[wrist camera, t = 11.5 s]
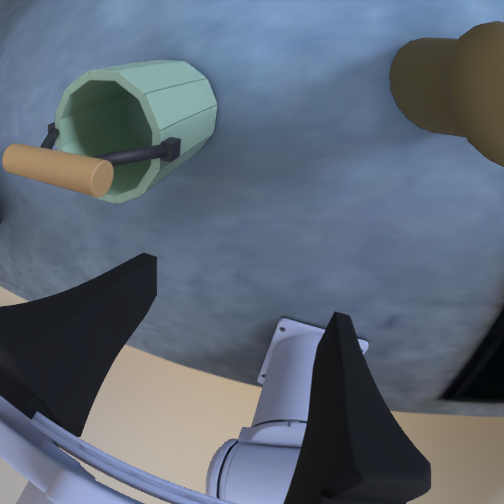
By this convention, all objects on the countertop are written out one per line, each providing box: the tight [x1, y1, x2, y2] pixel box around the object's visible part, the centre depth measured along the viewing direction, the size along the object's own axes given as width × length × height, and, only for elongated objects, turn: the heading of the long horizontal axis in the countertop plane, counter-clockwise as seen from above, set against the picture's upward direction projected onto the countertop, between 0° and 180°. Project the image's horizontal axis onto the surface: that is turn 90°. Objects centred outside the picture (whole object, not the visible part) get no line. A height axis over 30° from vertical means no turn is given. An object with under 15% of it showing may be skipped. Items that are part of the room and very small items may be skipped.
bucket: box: [2, 60, 218, 204], centre depth 15 cm, size 7×8×11 cm
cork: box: [390, 21, 504, 167], centre depth 10 cm, size 6×6×11 cm
